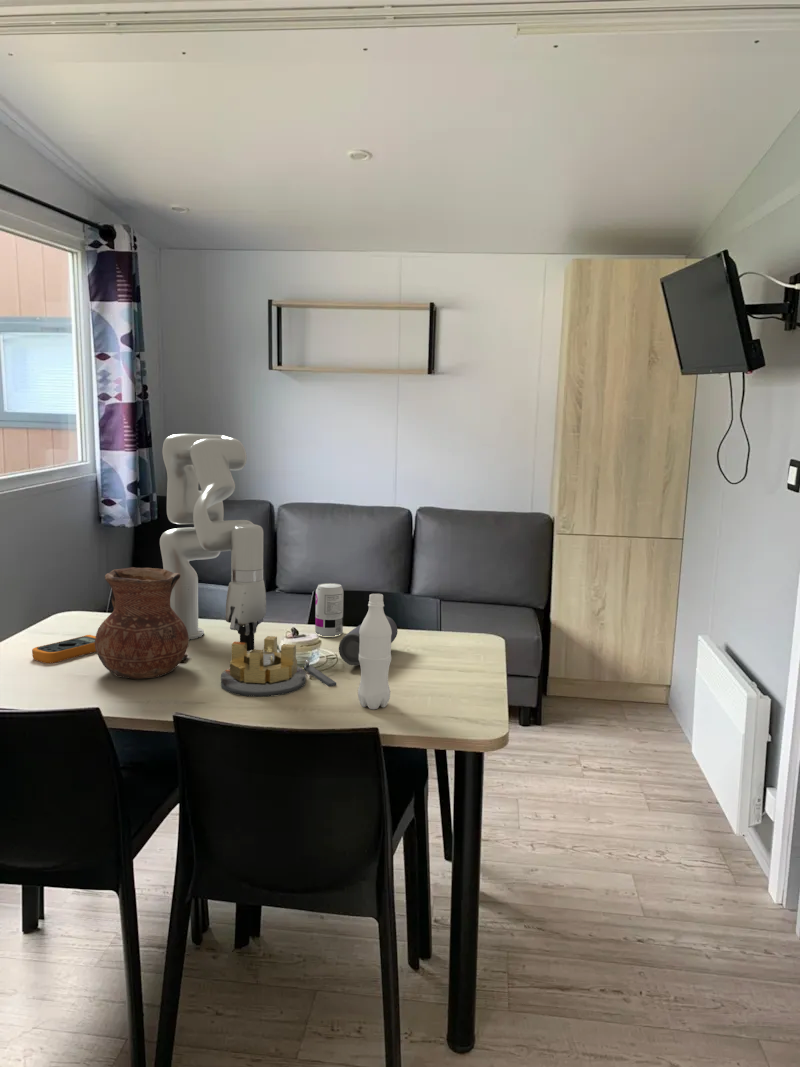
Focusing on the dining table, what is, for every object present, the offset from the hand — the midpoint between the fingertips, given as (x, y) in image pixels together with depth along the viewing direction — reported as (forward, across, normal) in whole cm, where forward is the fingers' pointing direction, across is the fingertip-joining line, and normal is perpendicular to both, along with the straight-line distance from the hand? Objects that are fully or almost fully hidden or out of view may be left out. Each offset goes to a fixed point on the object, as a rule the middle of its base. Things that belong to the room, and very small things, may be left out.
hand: (246, 649), depth 185 cm
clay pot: (+7, +11, -24) cm, 27 cm away
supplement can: (+7, -44, -7) cm, 46 cm away
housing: (+7, +1, +6) cm, 9 cm away
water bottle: (+7, -1, +36) cm, 37 cm away
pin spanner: (+7, -10, +14) cm, 19 cm away
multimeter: (+8, +12, -51) cm, 53 cm away
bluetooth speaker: (+7, -30, +16) cm, 35 cm away
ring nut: (+4, +1, +6) cm, 8 cm away
